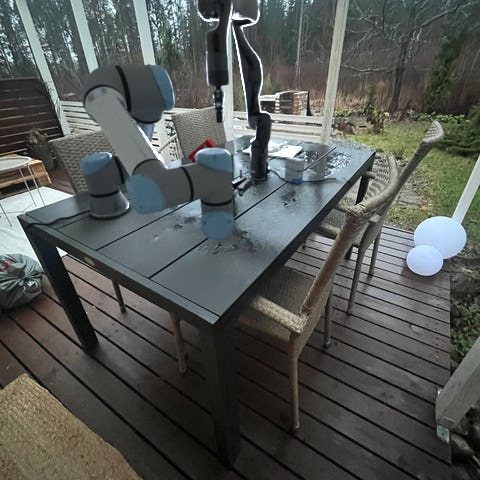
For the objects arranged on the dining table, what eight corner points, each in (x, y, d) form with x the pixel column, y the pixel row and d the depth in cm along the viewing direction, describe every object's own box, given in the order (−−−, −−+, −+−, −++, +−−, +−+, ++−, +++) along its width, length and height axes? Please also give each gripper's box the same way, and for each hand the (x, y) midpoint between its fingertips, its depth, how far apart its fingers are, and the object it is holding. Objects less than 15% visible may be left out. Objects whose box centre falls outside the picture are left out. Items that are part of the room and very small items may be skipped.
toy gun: (225, 158, 166) (210, 137, 162) (223, 160, 163) (207, 139, 159) (205, 174, 176) (191, 154, 172) (202, 176, 173) (188, 156, 169)
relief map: (291, 159, 177) (291, 151, 174) (243, 153, 190) (243, 145, 187) (302, 149, 197) (303, 142, 194) (258, 144, 211) (258, 137, 208)
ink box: (302, 181, 142) (305, 159, 136) (297, 184, 139) (300, 161, 133) (289, 177, 147) (291, 156, 141) (284, 180, 144) (285, 158, 138)
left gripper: (174, 213, 75) (184, 185, 93) (264, 211, 76) (257, 183, 93) (170, 188, 71) (181, 163, 89) (265, 186, 72) (257, 162, 89)
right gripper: (207, 69, 98) (210, 117, 106) (205, 69, 86) (208, 124, 94) (228, 68, 98) (229, 117, 107) (229, 69, 86) (230, 124, 95)
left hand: (220, 173), depth 91 cm, fingers open, 13 cm apart
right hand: (220, 120), depth 101 cm, fingers open, 8 cm apart
